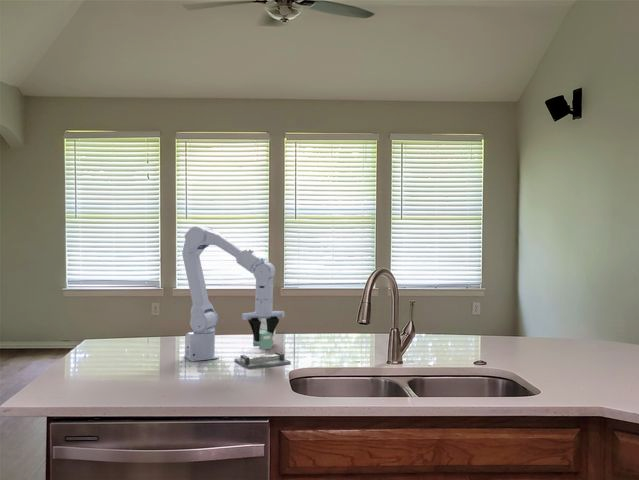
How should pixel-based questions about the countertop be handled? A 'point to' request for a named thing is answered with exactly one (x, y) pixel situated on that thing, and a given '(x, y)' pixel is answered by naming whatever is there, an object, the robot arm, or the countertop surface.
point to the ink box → (264, 327)
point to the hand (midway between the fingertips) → (263, 340)
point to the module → (264, 340)
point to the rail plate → (262, 360)
